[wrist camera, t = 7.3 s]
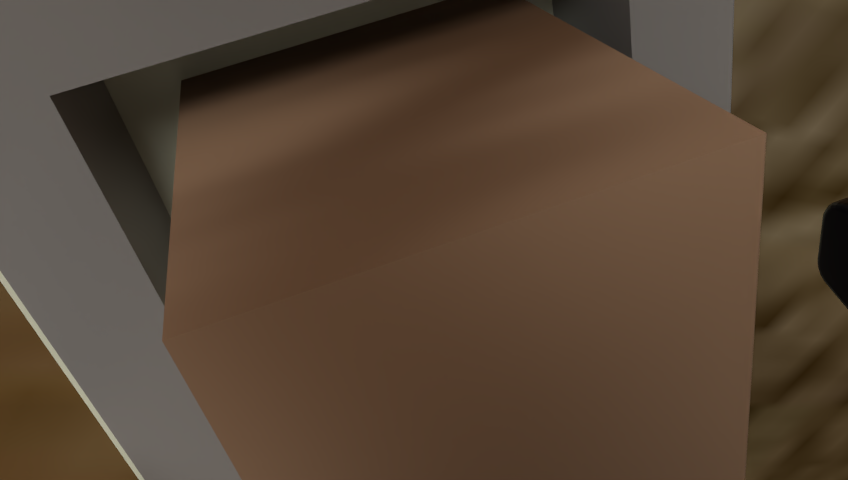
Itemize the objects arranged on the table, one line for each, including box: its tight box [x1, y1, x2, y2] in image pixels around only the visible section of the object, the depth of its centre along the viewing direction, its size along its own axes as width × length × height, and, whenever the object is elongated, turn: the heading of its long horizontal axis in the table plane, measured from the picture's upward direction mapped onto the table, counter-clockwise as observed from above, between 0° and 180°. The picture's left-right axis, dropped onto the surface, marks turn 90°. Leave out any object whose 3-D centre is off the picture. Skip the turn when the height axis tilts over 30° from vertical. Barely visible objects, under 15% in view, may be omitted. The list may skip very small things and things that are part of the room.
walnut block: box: [162, 0, 767, 480], centre depth 8 cm, size 4×6×5 cm, turn 13°
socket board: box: [0, 0, 734, 480], centre depth 10 cm, size 10×11×2 cm
